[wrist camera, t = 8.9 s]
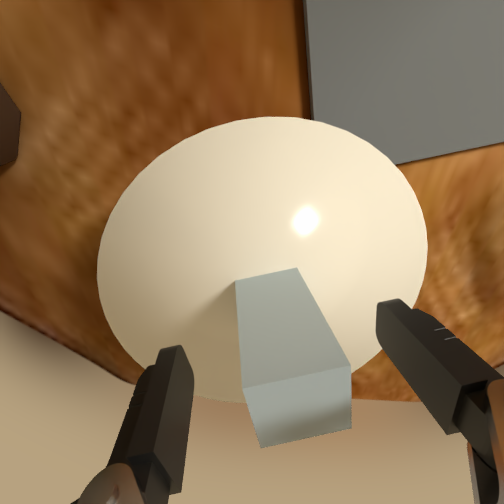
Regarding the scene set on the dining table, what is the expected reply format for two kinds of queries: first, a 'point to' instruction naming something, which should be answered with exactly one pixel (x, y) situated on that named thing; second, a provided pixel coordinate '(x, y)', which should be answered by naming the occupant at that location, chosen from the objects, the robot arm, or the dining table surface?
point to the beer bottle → (8, 128)
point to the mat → (408, 72)
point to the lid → (264, 266)
